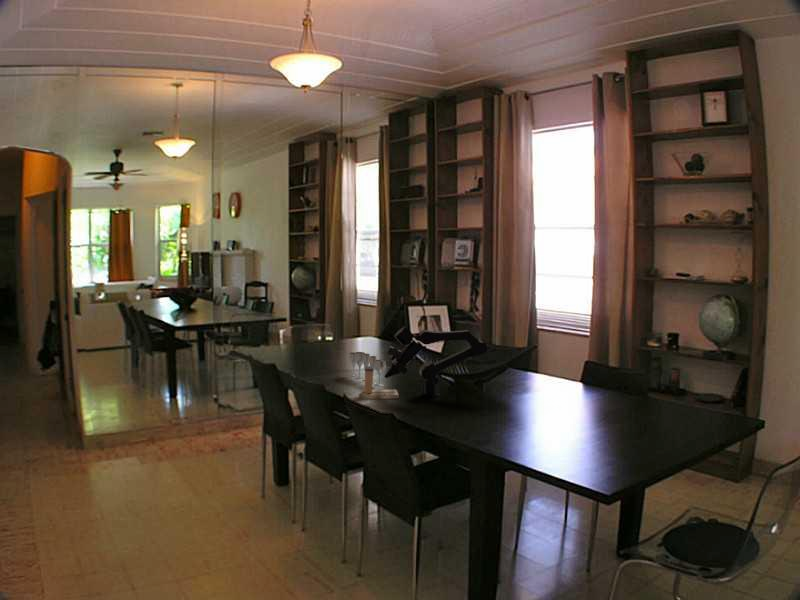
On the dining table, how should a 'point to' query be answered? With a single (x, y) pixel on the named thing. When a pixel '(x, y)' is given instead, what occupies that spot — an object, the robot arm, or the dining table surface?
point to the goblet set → (366, 359)
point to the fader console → (380, 394)
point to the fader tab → (368, 379)
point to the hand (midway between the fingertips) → (385, 377)
